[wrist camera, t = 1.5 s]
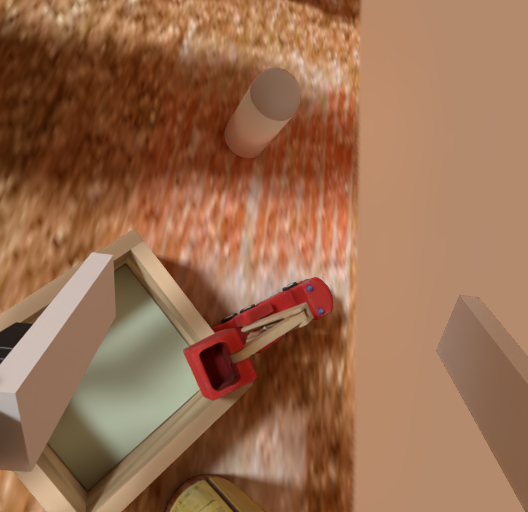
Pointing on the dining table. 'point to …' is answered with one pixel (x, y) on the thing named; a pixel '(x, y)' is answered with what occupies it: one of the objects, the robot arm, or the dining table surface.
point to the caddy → (125, 390)
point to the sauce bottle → (211, 497)
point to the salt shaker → (262, 112)
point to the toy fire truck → (253, 336)
